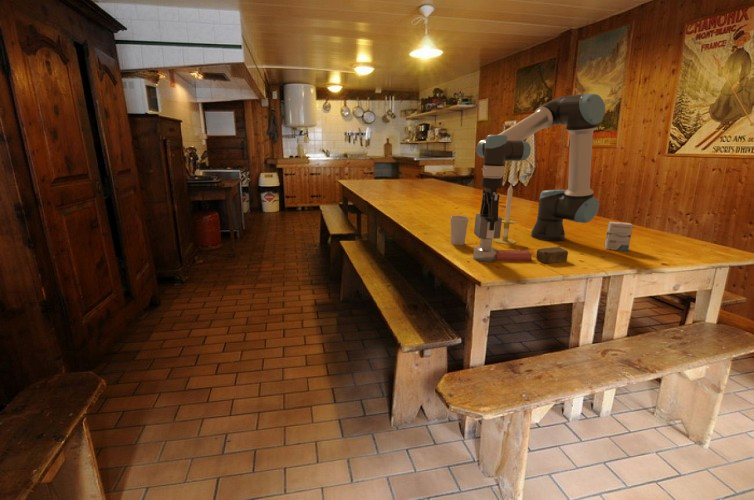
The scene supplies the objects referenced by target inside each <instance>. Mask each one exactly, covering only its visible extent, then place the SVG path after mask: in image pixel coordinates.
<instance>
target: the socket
mask: <svg viewBox="0 0 754 500" xmlns="http://www.w3.org/2000/svg"><path fill="white" fill-rule="evenodd" d="M474 217H475V218H474V219H475V221H474V229H473V234H474V235H475V236H476V237H477V238H478V239H481V238H486V234H487V224H488V222H487V220H489V214H480V213H475V216H474ZM502 219H503V218H502V217H501V216H499V215H498V221H496V222H495V230H494V239H500V238H501V233H502V232H501V231H502V224H503V223H502ZM491 239H492V240H494V239H493V238H491Z"/></svg>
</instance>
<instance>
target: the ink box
mask: <svg viewBox="0 0 754 500" xmlns="http://www.w3.org/2000/svg"><path fill="white" fill-rule="evenodd" d="M633 227H634V225H633V224H632V223H630V222H618V221H608V224H607V231H606V237H605V240H604V241H605V242H604V248H605V249H606V250H609V249H611V250H612V251H620V250H622V252H628V251H629V248H630V242H631V240H632V239H631V237H632V232H633V229H634V228H633Z"/></svg>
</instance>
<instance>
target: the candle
mask: <svg viewBox="0 0 754 500" xmlns="http://www.w3.org/2000/svg"><path fill="white" fill-rule="evenodd" d="M513 191H514V189H513V186H512V184H510V185H509V187H508V189H507V193H506V204H505V213H504V214H505V215H504V218H502V224H503V228H502V229H503V230H502V237H500V239H493V242H495V243H497V244H500V245H514V244H516V243H517V241H516V240H514V239H513V238H509V232H510V225H511V224H512V225H513V224H516V223H518V221H517V220H515V219H510V218H511V209H512V201H513Z"/></svg>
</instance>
